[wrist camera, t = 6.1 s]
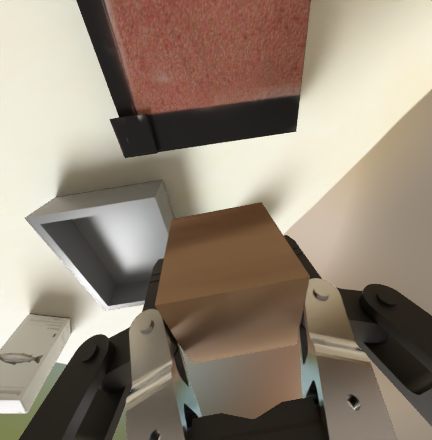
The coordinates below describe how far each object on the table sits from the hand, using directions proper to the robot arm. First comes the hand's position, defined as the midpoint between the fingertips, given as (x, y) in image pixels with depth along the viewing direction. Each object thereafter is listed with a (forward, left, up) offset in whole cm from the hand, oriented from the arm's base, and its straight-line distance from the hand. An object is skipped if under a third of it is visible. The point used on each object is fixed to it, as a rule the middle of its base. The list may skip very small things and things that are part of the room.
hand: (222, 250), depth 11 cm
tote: (+9, -13, -15) cm, 22 cm away
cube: (0, 0, 0) cm, 0 cm away
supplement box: (+27, -38, -15) cm, 49 cm away
